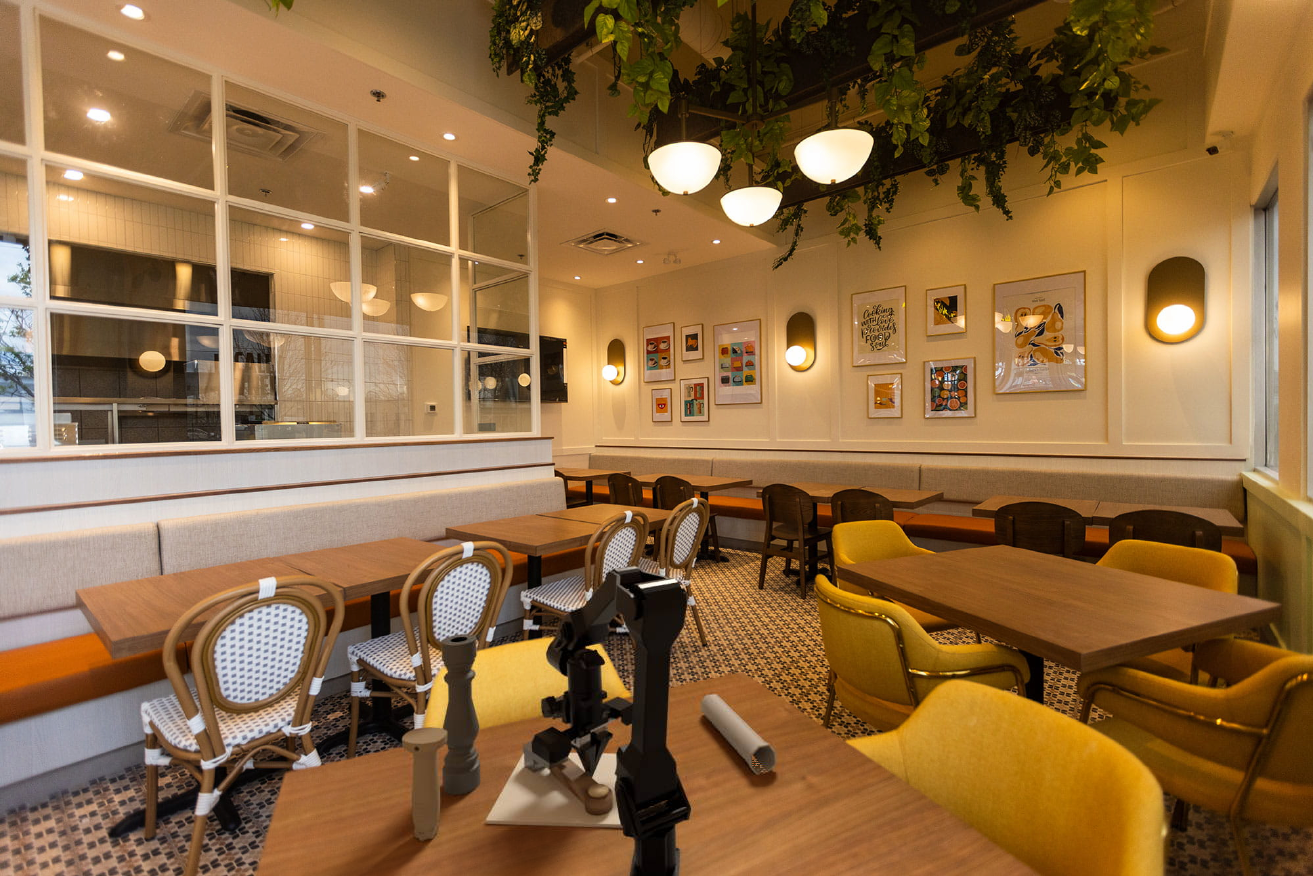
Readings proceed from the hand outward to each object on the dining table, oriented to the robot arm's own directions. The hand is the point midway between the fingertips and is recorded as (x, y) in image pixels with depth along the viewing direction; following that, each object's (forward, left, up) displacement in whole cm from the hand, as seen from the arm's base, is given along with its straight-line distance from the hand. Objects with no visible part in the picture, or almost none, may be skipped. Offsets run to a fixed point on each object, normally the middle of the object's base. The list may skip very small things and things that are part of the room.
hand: (589, 777), depth 100 cm
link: (-2, +1, -1) cm, 2 cm away
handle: (-13, +22, -2) cm, 26 cm away
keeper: (+3, +9, -1) cm, 9 cm away
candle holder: (0, +22, -2) cm, 22 cm away
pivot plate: (0, +3, -2) cm, 4 cm away
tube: (+17, -25, -2) cm, 30 cm away
